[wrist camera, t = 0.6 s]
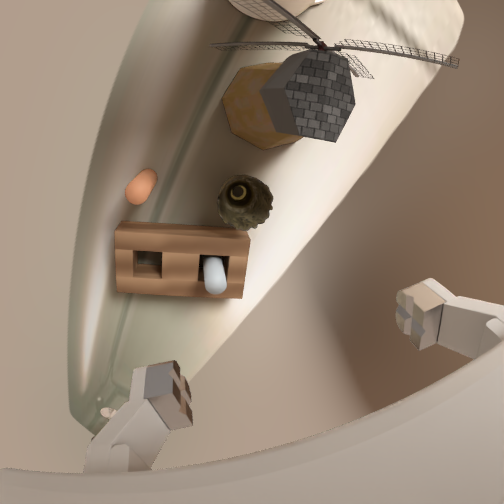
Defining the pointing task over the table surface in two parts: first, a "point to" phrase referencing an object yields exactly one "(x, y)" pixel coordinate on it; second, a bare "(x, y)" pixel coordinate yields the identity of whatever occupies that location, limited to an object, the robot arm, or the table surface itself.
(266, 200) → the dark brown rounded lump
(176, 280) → the peg block
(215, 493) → the robot arm
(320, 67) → the windmill
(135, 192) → the peg
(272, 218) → the table surface
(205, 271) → the seated peg
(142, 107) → the table surface
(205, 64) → the table surface
